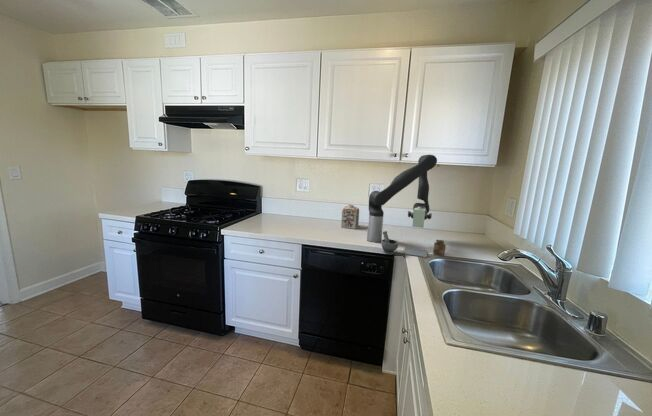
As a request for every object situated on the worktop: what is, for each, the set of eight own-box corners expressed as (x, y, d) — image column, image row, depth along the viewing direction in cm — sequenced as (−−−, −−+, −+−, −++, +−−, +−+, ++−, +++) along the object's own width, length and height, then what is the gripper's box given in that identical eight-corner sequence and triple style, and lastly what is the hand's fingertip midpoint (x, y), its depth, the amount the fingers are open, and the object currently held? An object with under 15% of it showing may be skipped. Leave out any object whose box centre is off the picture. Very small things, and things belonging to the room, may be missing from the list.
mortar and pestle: (400, 254, 157) (402, 234, 155) (388, 256, 153) (389, 236, 151) (388, 248, 167) (389, 229, 165) (375, 250, 163) (377, 231, 161)
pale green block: (412, 226, 157) (414, 207, 155) (413, 224, 162) (414, 206, 160) (423, 227, 155) (425, 208, 152) (423, 225, 160) (425, 207, 158)
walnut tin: (433, 254, 159) (434, 241, 157) (433, 251, 164) (434, 238, 163) (444, 256, 157) (446, 243, 155) (444, 253, 162) (445, 240, 161)
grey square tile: (403, 254, 158) (403, 253, 158) (405, 247, 170) (405, 246, 169) (426, 258, 153) (426, 257, 153) (427, 251, 165) (427, 250, 165)
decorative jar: (340, 227, 213) (341, 205, 209) (344, 224, 224) (345, 203, 220) (355, 229, 209) (357, 206, 206) (358, 226, 220) (360, 204, 217)
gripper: (408, 205, 172) (406, 209, 157) (433, 207, 167) (433, 212, 152) (407, 217, 174) (405, 222, 158) (431, 219, 169) (431, 225, 153)
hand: (418, 217), depth 155 cm, fingers closed on pale green block, 6 cm apart
